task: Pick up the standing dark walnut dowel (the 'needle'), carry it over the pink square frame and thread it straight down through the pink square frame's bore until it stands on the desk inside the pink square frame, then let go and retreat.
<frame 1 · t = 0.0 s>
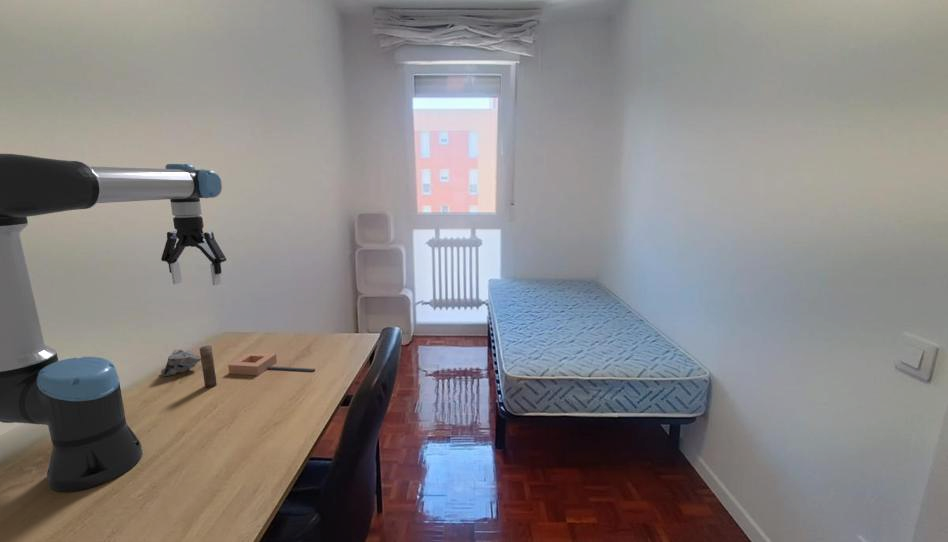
hand: (197, 283, 135), 28 cm above the table, fingers open, 13 cm apart
pink square frame: (253, 367, 139), on the table
mineral specimen: (183, 372, 137), on the table
dowel: (210, 385, 127), on the table
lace: (291, 369, 138), on the table
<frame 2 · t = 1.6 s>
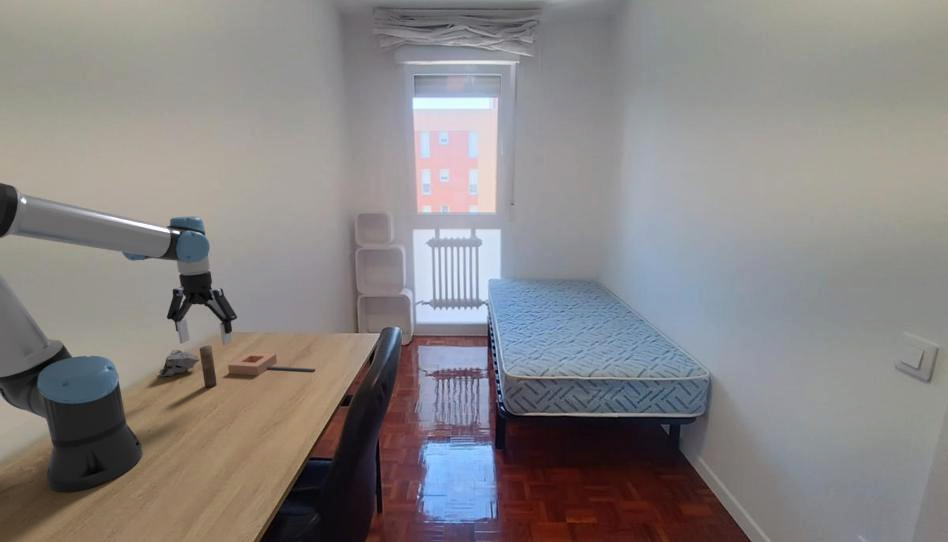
hand: (206, 342, 125), 13 cm above the table, fingers open, 13 cm apart
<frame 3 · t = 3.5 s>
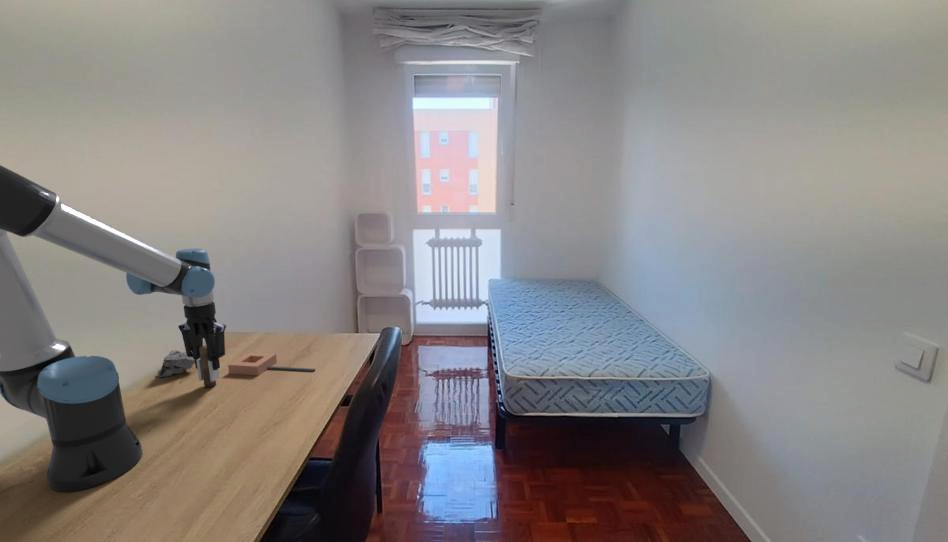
hand: (209, 378, 127), 2 cm above the table, fingers closed on dowel, 3 cm apart
dowel: (210, 385, 127), on the table, touching gripper
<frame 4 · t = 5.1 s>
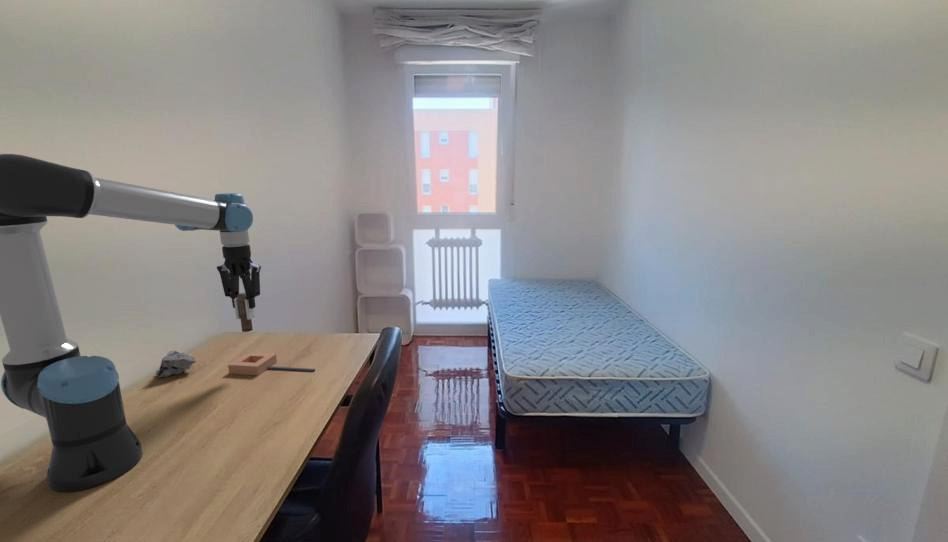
hand: (245, 317, 135), 17 cm above the table, fingers closed on dowel, 3 cm apart
dowel: (247, 330, 136), point 13 cm above the table, touching gripper
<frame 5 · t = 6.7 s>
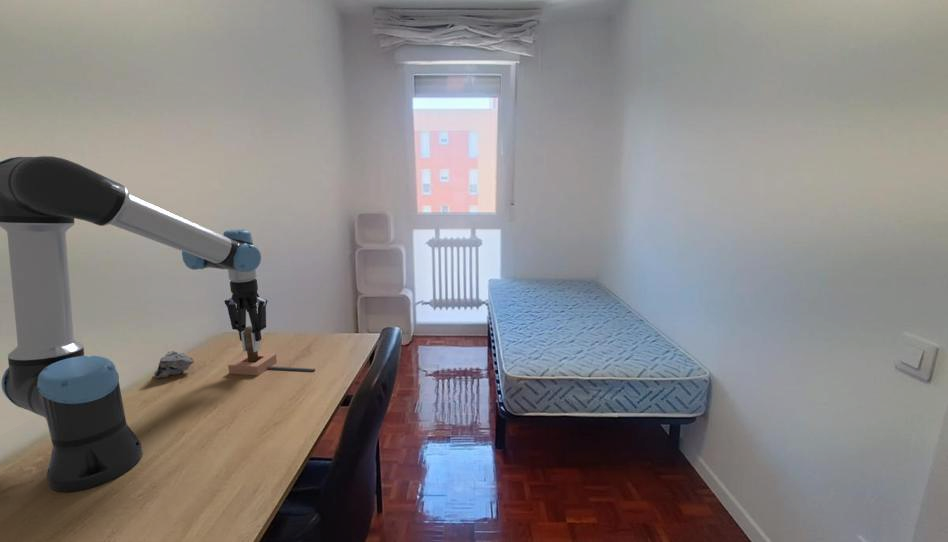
hand: (252, 349, 138), 6 cm above the table, fingers closed on dowel, 3 cm apart
dowel: (253, 362, 139), point 2 cm above the table, touching gripper
when the fingers open (4 cm above the table, at t = 7.2 s): dowel stays where it is, on the table.
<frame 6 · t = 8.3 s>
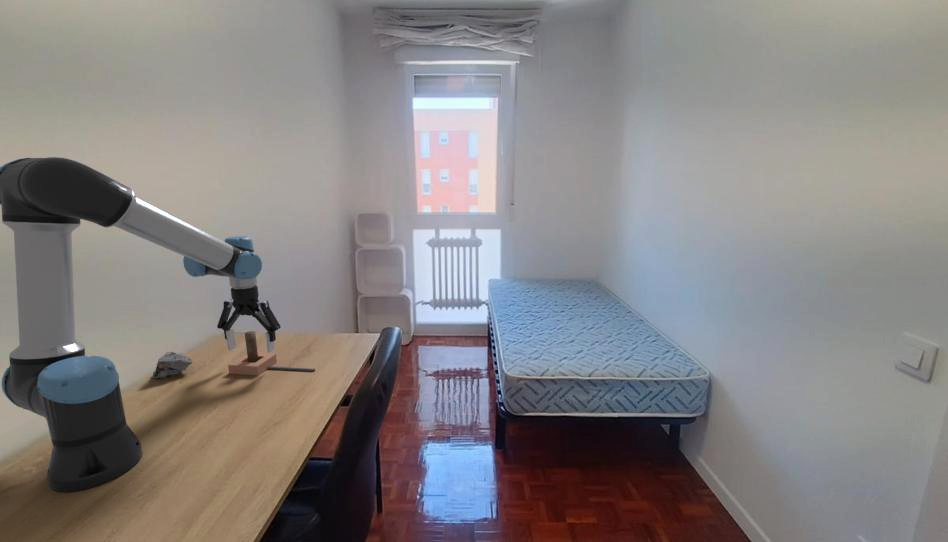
hand: (251, 349, 138), 6 cm above the table, fingers open, 13 cm apart
dowel: (254, 367, 140), on the table
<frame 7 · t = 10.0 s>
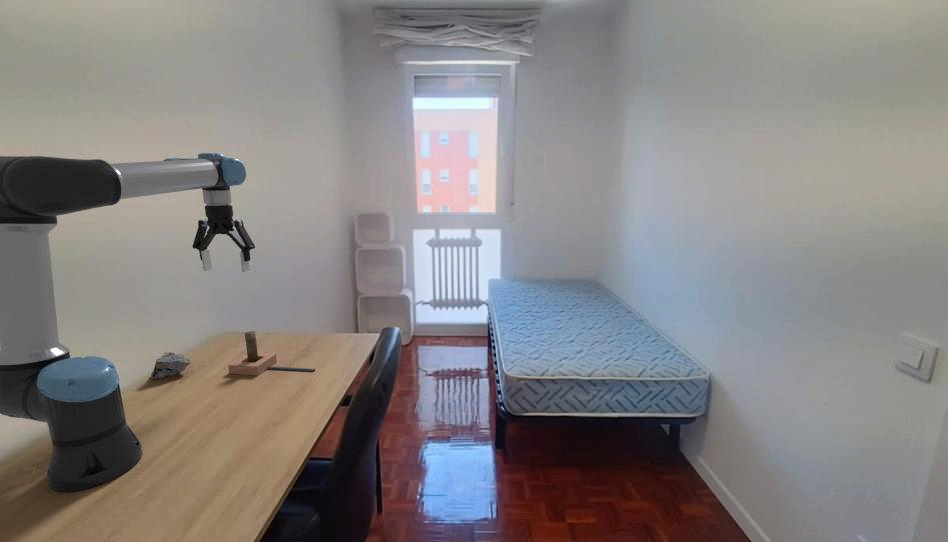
hand: (226, 270, 138), 31 cm above the table, fingers open, 13 cm apart
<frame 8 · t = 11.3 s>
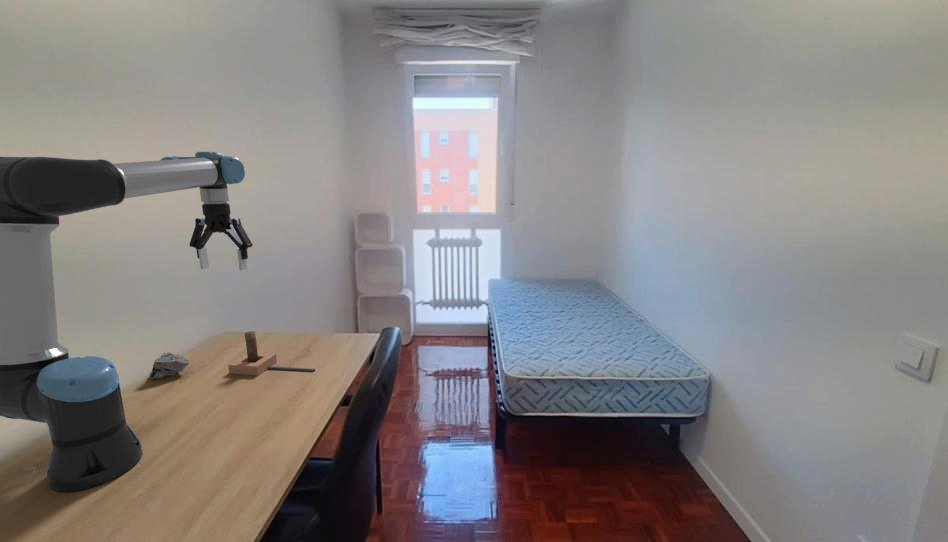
hand: (224, 268, 139), 32 cm above the table, fingers open, 13 cm apart
at the end: dowel 0.2 cm from the pink square frame (horizontally); dowel on the table; dowel tilted 0° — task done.
